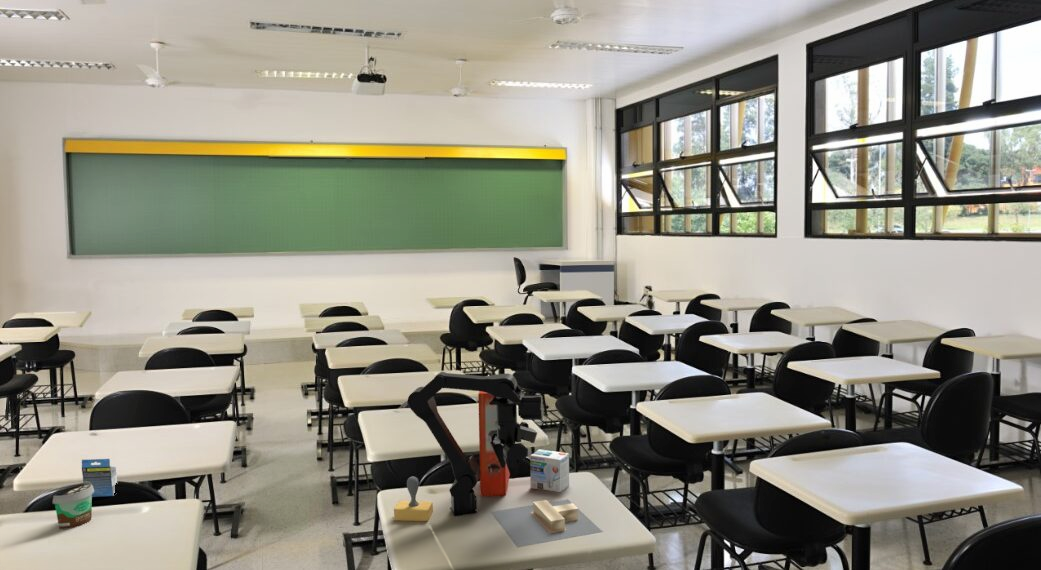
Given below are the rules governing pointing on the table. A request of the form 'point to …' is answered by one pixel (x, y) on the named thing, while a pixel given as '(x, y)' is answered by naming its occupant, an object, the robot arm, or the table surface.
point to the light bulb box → (549, 470)
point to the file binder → (490, 451)
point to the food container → (74, 506)
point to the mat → (540, 525)
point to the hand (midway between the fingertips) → (508, 472)
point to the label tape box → (100, 476)
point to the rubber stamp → (413, 505)
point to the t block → (555, 514)
